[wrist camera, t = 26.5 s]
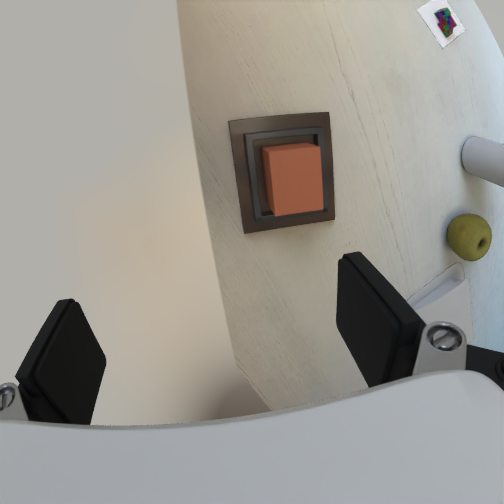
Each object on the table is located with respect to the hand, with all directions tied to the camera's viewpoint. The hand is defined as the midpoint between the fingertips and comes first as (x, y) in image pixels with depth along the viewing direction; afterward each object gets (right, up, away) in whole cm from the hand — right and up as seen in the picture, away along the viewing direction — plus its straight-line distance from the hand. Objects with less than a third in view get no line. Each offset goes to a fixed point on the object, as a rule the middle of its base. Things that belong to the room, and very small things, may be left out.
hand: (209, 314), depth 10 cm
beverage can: (+37, +18, +29) cm, 50 cm away
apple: (+36, +6, +34) cm, 50 cm away
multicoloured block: (+30, +37, +18) cm, 51 cm away
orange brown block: (+6, +12, +26) cm, 29 cm away
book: (+40, -11, +43) cm, 60 cm away
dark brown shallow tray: (+5, +12, +27) cm, 30 cm away
